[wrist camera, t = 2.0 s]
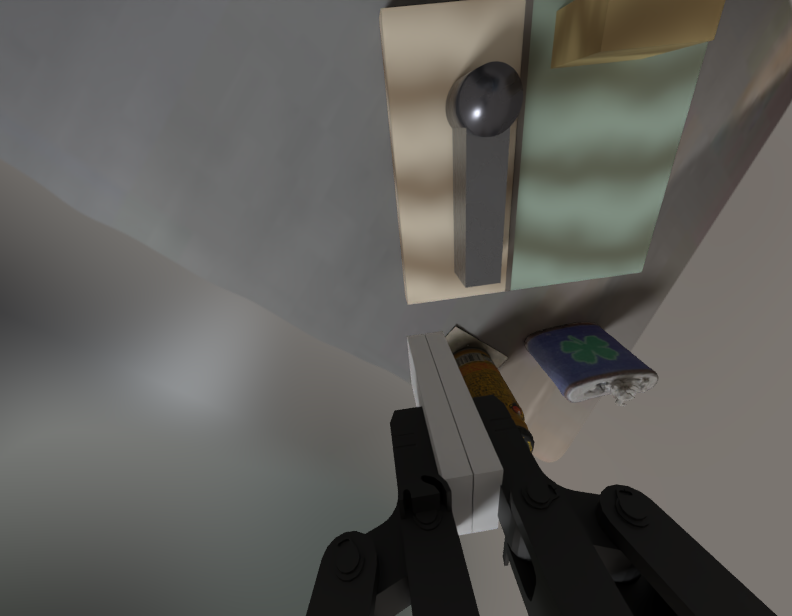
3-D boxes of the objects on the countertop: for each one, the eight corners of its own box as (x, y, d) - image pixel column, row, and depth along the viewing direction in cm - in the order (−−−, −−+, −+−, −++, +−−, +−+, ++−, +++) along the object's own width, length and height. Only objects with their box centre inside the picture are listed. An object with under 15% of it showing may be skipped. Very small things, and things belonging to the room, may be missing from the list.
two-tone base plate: (378, 18, 23) (388, -30, 16) (700, -13, 24) (830, -69, 17) (405, 295, 33) (417, 335, 27) (627, 265, 34) (691, 295, 28)
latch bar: (444, 75, 23) (460, 64, 19) (500, 69, 23) (526, 58, 19) (449, 272, 30) (461, 291, 26) (491, 267, 30) (508, 284, 27)
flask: (522, 351, 39) (576, 420, 29) (524, 330, 37) (581, 396, 28) (597, 338, 39) (674, 403, 29) (601, 317, 38) (684, 378, 28)
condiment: (468, 396, 41) (506, 486, 31) (415, 370, 38) (438, 459, 28) (507, 356, 39) (564, 438, 28) (454, 324, 36) (495, 403, 25)
